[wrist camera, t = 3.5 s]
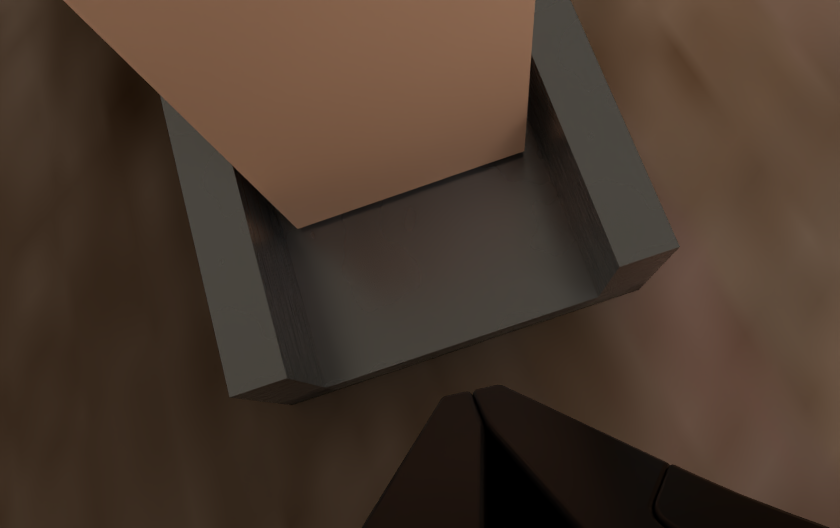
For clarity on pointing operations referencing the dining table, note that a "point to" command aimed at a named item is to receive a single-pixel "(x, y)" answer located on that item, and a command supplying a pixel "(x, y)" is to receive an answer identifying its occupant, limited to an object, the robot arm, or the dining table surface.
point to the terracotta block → (334, 88)
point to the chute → (429, 242)
